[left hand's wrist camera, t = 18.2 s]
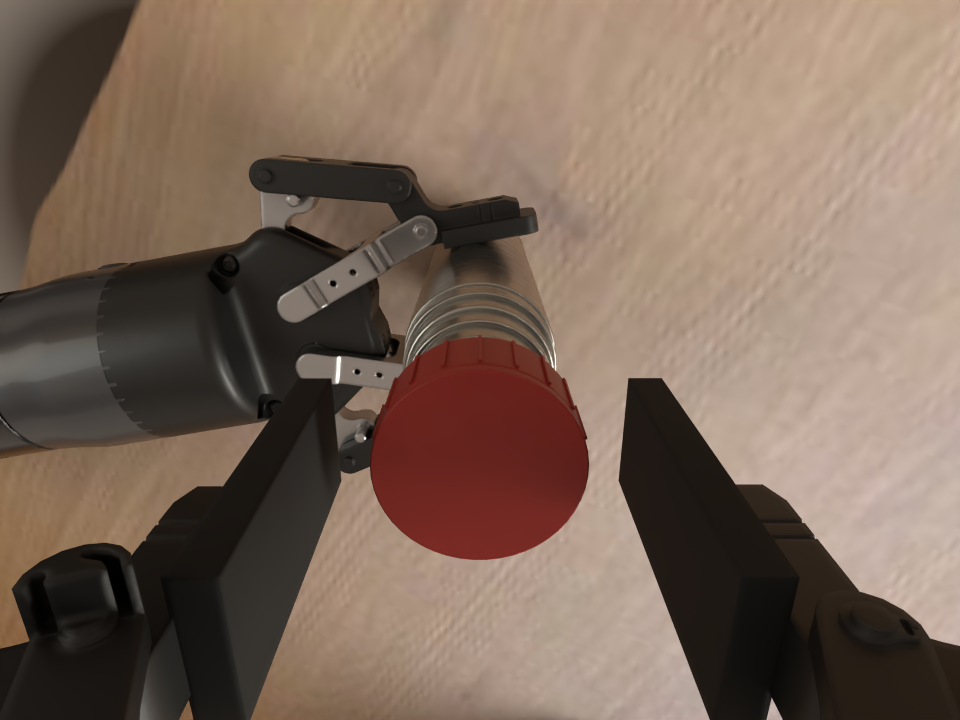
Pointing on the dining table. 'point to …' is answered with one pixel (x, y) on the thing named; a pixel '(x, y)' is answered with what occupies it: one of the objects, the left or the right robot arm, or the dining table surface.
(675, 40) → the dining table surface
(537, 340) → the bottle
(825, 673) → the left robot arm
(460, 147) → the dining table surface
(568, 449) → the cap
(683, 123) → the dining table surface
